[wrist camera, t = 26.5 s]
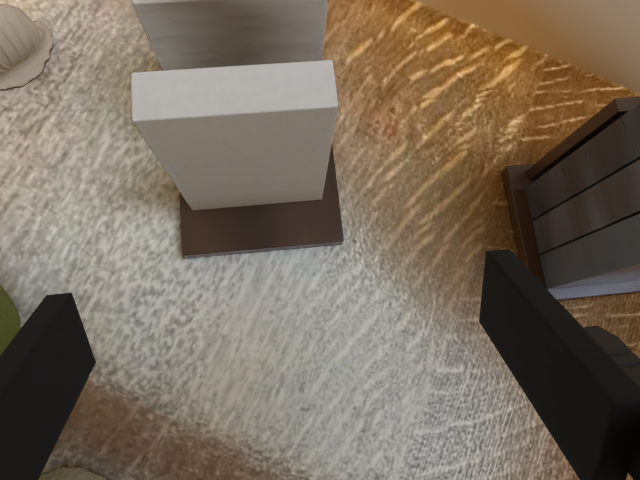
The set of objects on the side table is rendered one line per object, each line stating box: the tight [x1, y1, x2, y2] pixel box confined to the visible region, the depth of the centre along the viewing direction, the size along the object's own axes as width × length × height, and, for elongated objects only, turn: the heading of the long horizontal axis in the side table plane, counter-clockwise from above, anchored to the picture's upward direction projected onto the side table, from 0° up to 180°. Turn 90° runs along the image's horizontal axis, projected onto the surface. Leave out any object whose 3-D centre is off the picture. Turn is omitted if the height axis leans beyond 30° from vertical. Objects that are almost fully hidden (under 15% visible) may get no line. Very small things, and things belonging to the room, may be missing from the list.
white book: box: [131, 60, 338, 210], centre depth 28 cm, size 9×2×13 cm, turn 96°
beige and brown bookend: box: [132, 0, 344, 258], centre depth 29 cm, size 11×15×14 cm
